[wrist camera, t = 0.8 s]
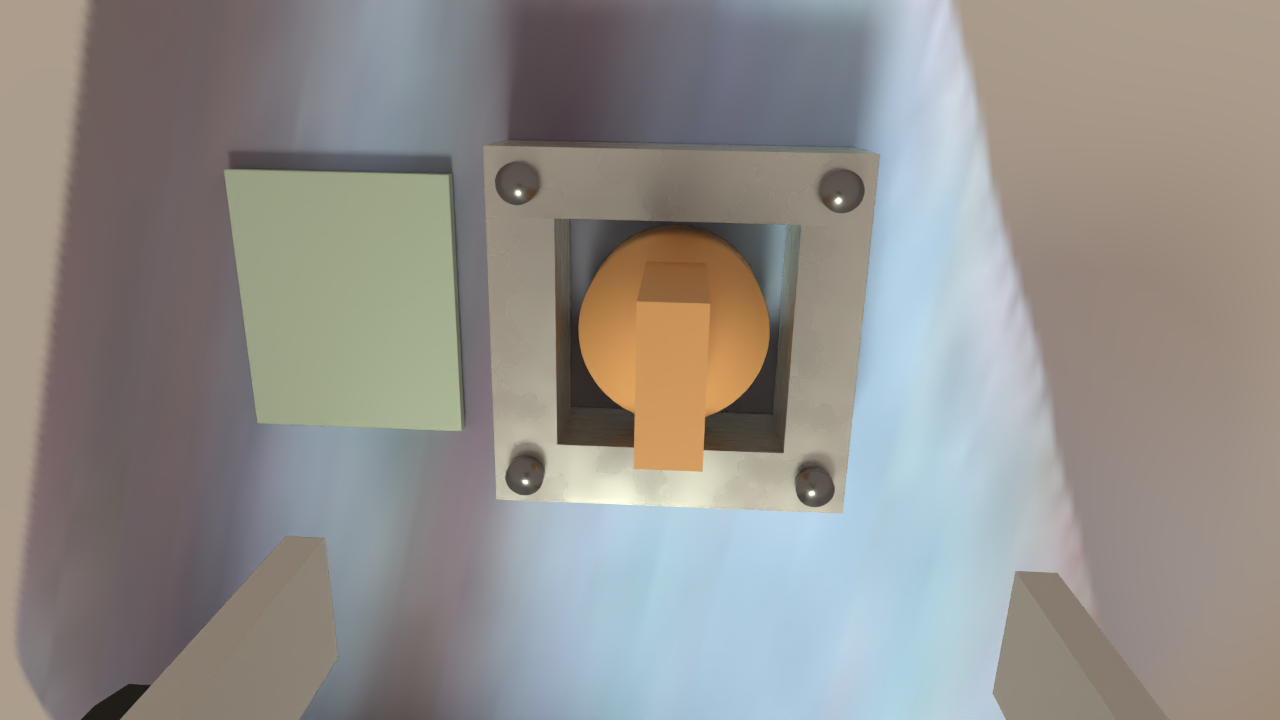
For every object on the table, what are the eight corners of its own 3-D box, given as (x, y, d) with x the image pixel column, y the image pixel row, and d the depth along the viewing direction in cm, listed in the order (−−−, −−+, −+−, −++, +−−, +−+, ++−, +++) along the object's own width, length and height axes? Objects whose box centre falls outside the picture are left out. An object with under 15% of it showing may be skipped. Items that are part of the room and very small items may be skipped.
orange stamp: (756, 397, 39) (781, 500, 29) (587, 391, 39) (554, 491, 29) (767, 227, 36) (799, 275, 26) (587, 222, 37) (550, 268, 27)
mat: (464, 426, 40) (461, 431, 39) (263, 418, 40) (257, 423, 40) (452, 174, 36) (448, 174, 36) (230, 168, 37) (223, 169, 36)
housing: (825, 468, 40) (845, 520, 35) (516, 456, 40) (493, 505, 35) (856, 147, 35) (883, 155, 30) (507, 140, 36) (479, 146, 31)
